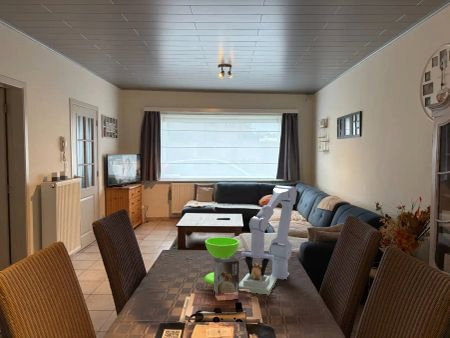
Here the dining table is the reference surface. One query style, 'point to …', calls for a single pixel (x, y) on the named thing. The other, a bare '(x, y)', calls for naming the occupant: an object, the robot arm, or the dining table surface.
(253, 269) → the spout can
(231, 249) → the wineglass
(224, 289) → the coffee box
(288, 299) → the dining table surface
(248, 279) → the pale green rectangular tray
